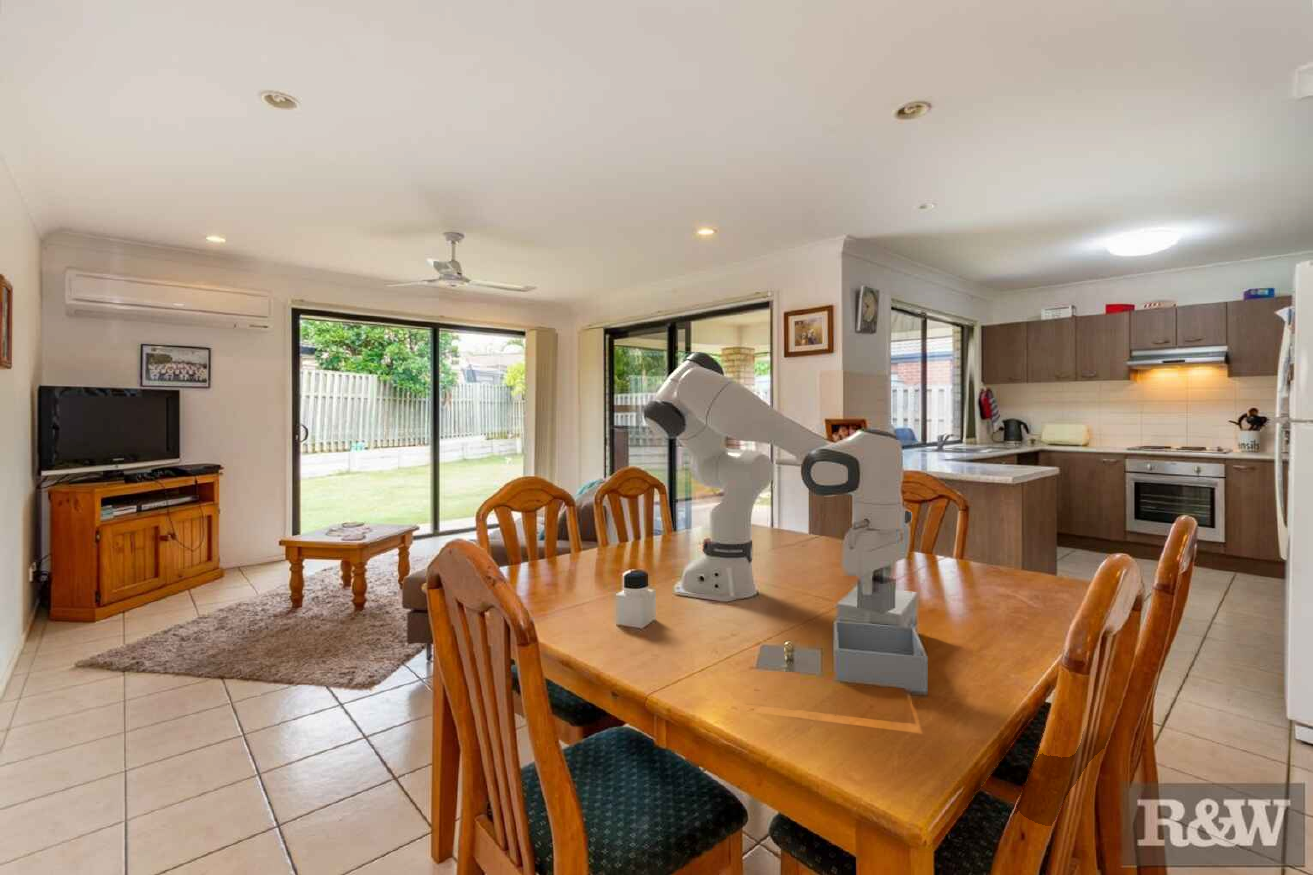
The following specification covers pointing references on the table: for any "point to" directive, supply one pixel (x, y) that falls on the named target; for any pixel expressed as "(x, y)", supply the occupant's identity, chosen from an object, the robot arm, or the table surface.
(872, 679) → the bin
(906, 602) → the supplement box
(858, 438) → the robot arm
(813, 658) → the stud base
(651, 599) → the medicine bottle
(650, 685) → the table surface
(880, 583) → the strut socket
